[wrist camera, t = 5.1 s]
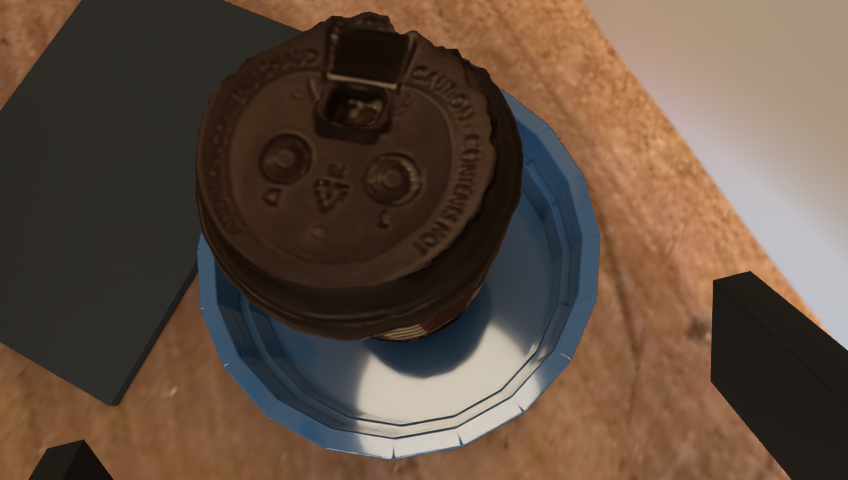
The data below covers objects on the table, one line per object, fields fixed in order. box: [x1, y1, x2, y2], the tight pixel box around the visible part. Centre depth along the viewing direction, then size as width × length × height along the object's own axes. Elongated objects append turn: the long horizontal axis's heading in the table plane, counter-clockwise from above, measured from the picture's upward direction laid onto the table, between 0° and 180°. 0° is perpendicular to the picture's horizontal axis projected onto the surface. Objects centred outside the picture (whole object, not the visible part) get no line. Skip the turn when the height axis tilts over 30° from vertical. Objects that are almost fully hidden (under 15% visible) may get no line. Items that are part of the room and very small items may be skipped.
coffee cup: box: [195, 12, 524, 342], centre depth 19 cm, size 9×8×13 cm
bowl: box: [197, 88, 601, 460], centre depth 23 cm, size 15×15×5 cm
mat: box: [0, 0, 303, 406], centre depth 28 cm, size 14×20×1 cm
